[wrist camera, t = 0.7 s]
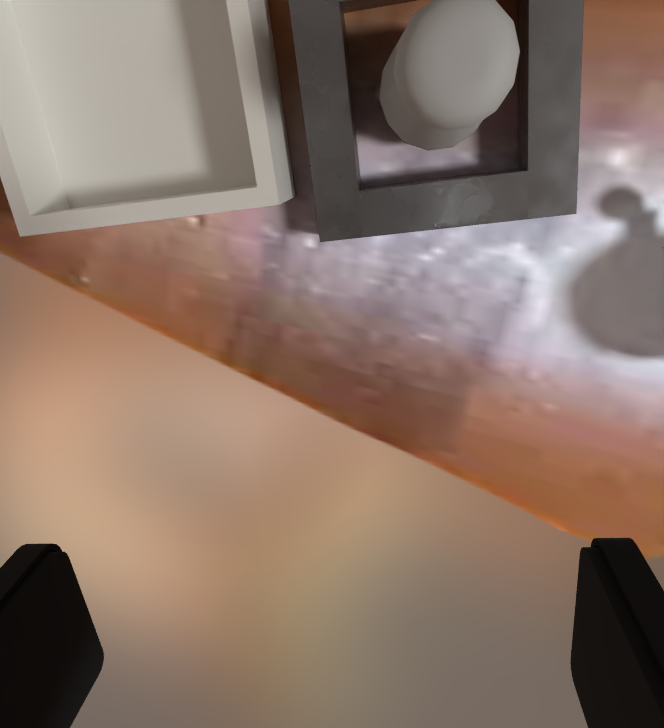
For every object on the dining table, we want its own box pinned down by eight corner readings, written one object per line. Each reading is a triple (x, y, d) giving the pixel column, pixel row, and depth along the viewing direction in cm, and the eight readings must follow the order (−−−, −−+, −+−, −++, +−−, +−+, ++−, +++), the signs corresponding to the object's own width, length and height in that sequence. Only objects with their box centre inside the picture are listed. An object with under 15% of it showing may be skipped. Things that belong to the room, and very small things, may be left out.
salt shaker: (366, 129, 31) (347, 119, 19) (402, 17, 29) (405, -74, 17) (462, 163, 31) (503, 175, 19) (505, 54, 29) (582, -10, 17)
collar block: (290, -34, 28) (281, -50, 26) (571, -87, 26) (587, -109, 24) (325, 235, 33) (320, 242, 31) (563, 208, 31) (576, 213, 29)
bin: (-13, -54, 30) (-88, -91, 25) (251, -111, 27) (222, -162, 23) (69, 224, 35) (19, 236, 30) (295, 196, 33) (279, 204, 28)
